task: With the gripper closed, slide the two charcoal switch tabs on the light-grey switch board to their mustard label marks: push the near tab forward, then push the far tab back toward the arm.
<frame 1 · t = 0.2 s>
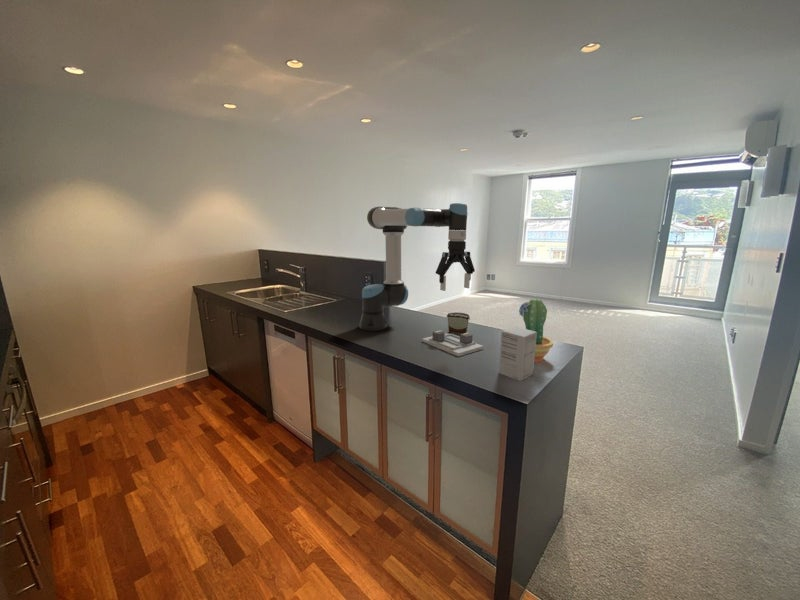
hand: (454, 289, 148), 27 cm above the countertop, fingers open, 13 cm apart
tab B: (466, 338, 154), point 4 cm above the countertop, slide at 10.0 cm
tab A: (438, 335, 158), point 4 cm above the countertop, slide at 0.0 cm
supplement box: (515, 374, 126), on the countertop
food container: (458, 332, 177), on the countertop
potted cactus: (532, 358, 142), on the countertop
switch board: (451, 345, 157), on the countertop
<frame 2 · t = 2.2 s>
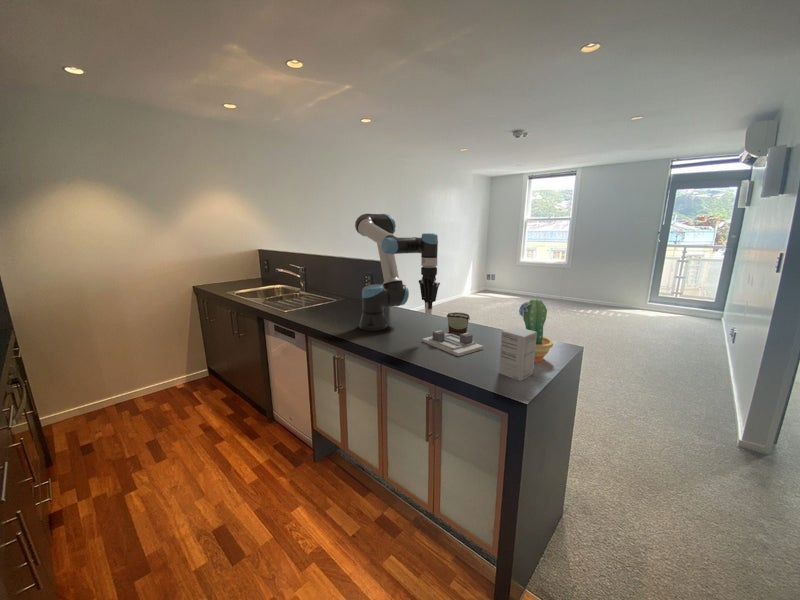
hand: (428, 315, 162), 12 cm above the countertop, fingers closed
nothing on the countertop moved.
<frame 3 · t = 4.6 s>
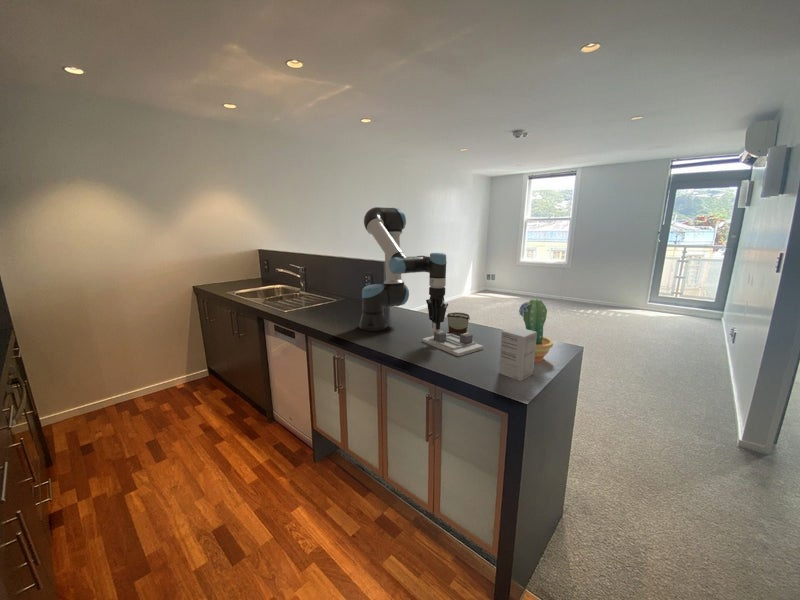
hand: (435, 335, 159), 4 cm above the countertop, fingers closed
tab A: (439, 336, 157), point 4 cm above the countertop, slide at 1.0 cm, touching gripper
everything else where it was.
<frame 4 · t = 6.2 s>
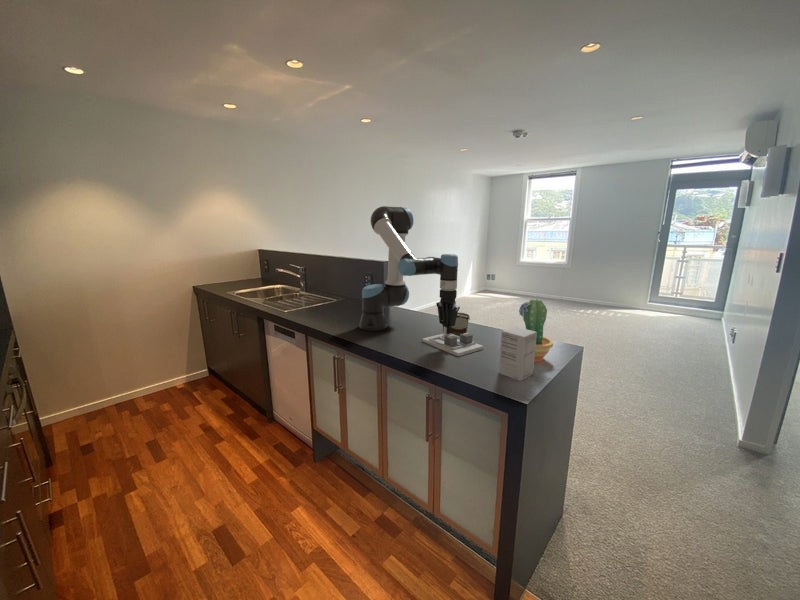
hand: (446, 339, 153), 3 cm above the countertop, fingers closed
tab A: (450, 340, 151), point 4 cm above the countertop, slide at 8.1 cm, touching gripper
everything else where it was.
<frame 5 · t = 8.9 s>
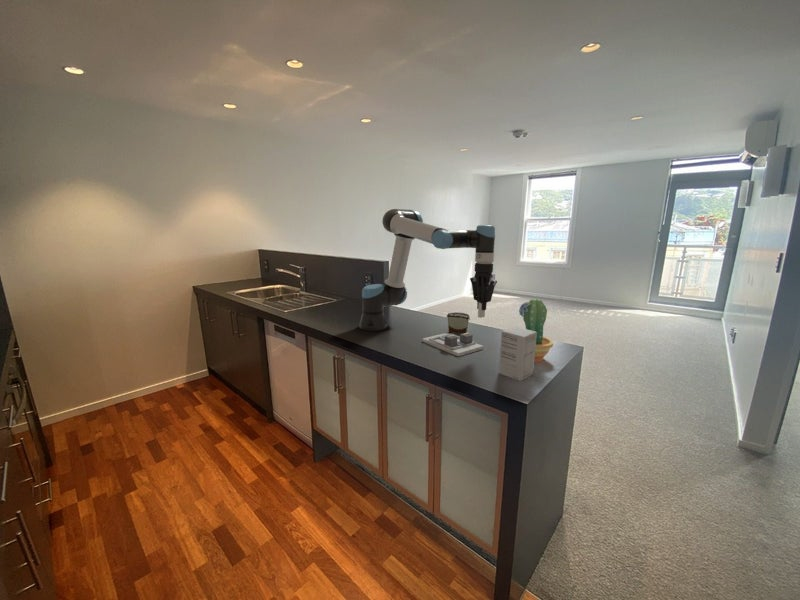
hand: (481, 316, 145), 16 cm above the countertop, fingers closed
tab A: (450, 340, 151), point 4 cm above the countertop, slide at 8.2 cm
everything else where it was.
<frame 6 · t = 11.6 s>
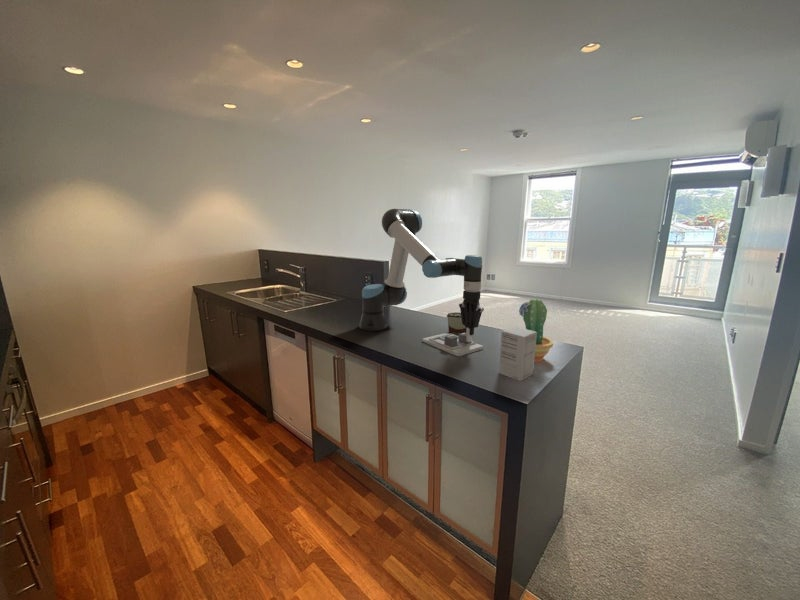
hand: (469, 341, 153), 3 cm above the countertop, fingers closed
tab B: (464, 337, 155), point 4 cm above the countertop, slide at 9.2 cm, touching gripper
everything else where it was.
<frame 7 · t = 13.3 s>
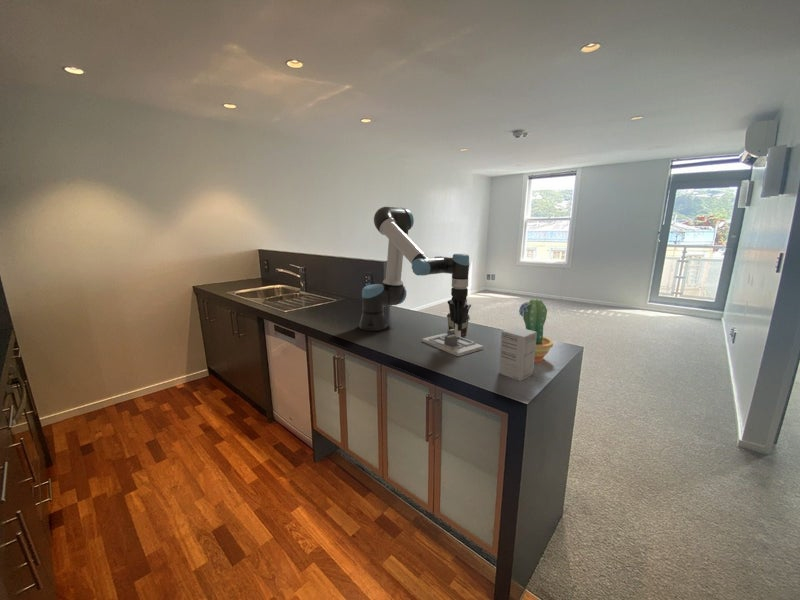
hand: (457, 336, 159), 3 cm above the countertop, fingers closed
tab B: (453, 333, 161), point 4 cm above the countertop, slide at 1.8 cm, touching gripper
everything else where it was.
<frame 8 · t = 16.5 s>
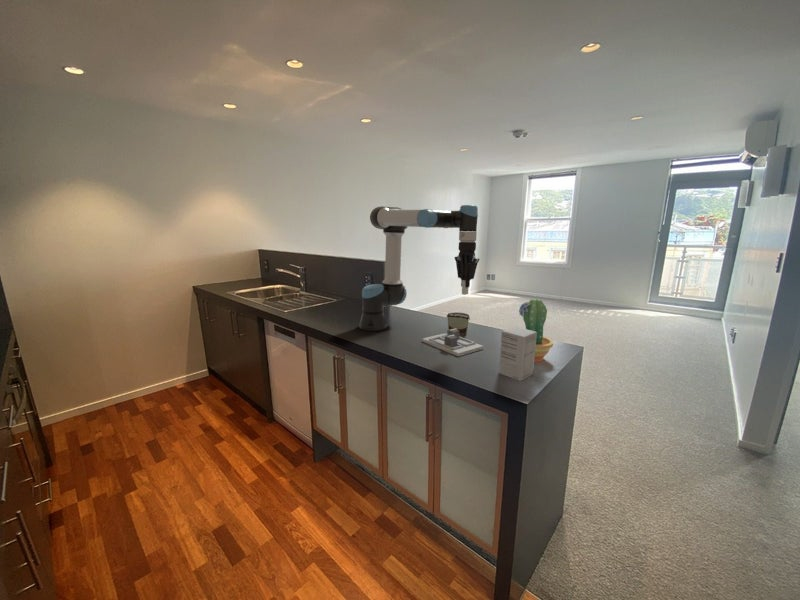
hand: (464, 294, 152), 24 cm above the countertop, fingers closed
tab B: (453, 333, 161), point 4 cm above the countertop, slide at 1.8 cm
everything else where it was.
at the end: tab A slide at 8.2 cm; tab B slide at 1.8 cm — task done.
